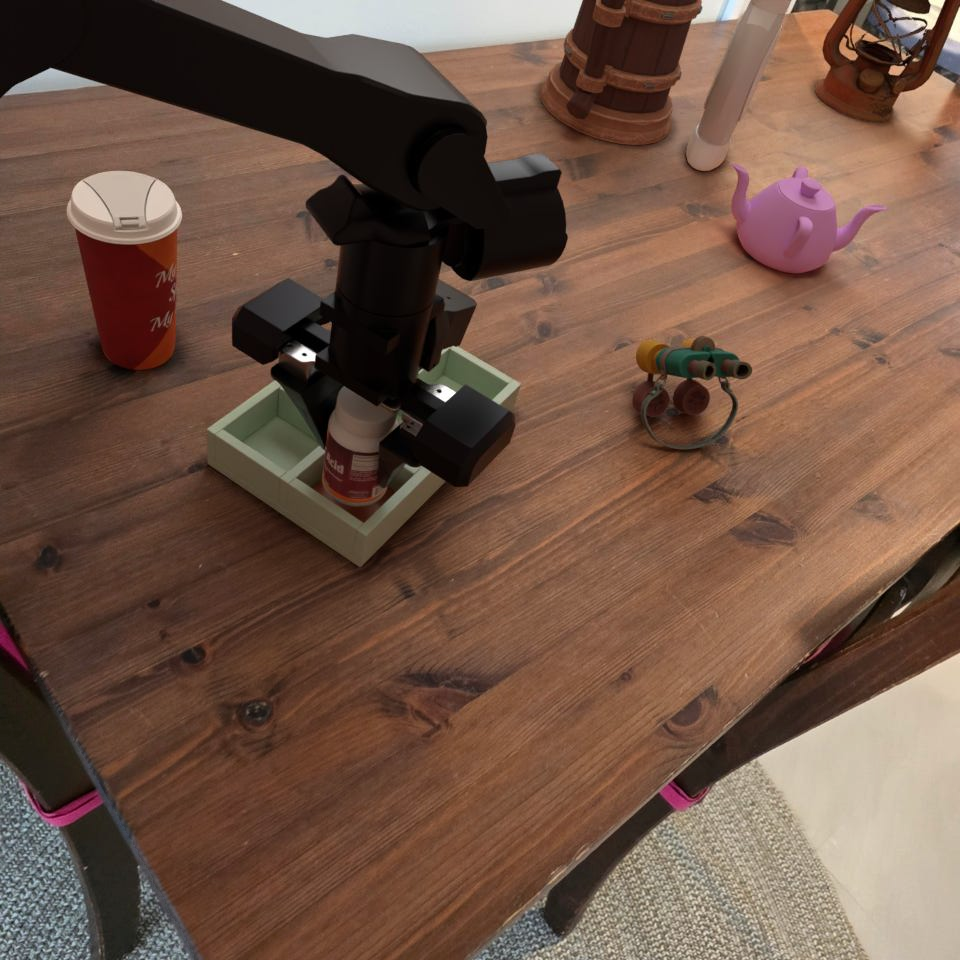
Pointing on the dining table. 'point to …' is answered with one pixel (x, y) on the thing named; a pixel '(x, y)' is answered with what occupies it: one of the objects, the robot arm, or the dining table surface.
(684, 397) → the binoculars
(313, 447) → the divided tray
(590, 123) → the mug
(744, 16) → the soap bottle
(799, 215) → the teapot
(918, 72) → the lantern
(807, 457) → the dining table surface
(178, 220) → the paper cup
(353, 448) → the pill bottle
